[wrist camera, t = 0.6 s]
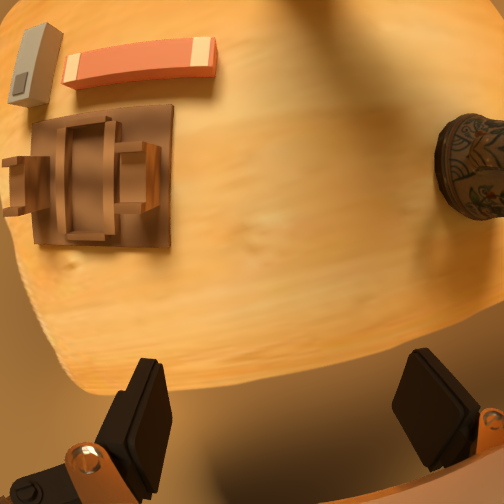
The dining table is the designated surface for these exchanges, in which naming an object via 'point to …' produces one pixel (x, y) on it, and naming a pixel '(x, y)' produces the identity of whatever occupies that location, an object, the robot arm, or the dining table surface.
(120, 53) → the orange banded bar
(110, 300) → the dining table surface
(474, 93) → the dining table surface
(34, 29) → the grey rectangular block
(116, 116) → the jig
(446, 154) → the black backpack
